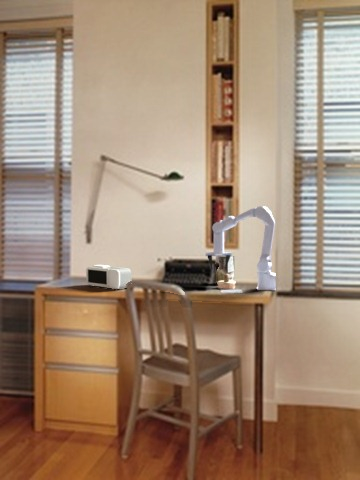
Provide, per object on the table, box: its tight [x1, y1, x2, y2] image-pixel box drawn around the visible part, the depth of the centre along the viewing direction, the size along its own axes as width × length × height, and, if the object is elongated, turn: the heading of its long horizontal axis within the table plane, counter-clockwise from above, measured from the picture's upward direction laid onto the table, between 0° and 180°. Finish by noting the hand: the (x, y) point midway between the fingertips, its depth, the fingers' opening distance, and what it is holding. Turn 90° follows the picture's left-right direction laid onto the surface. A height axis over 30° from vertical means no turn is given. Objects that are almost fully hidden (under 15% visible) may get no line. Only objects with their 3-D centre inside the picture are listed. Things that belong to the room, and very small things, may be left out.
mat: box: [220, 289, 244, 294], centre depth 276 cm, size 11×11×1 cm
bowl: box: [217, 284, 236, 290], centre depth 288 cm, size 9×9×3 cm
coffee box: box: [215, 255, 235, 285], centre depth 307 cm, size 9×6×16 cm
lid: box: [217, 274, 237, 285], centre depth 288 cm, size 10×10×5 cm
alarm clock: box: [85, 264, 133, 290], centre depth 294 cm, size 27×9×12 cm, turn 48°
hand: (218, 269), depth 293 cm, fingers open, 7 cm apart
